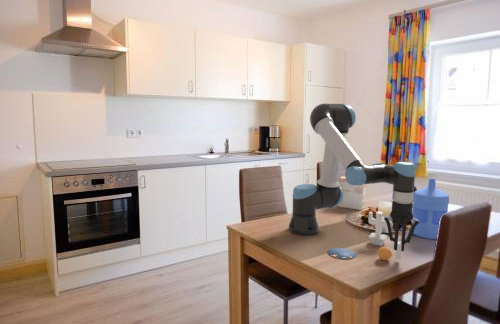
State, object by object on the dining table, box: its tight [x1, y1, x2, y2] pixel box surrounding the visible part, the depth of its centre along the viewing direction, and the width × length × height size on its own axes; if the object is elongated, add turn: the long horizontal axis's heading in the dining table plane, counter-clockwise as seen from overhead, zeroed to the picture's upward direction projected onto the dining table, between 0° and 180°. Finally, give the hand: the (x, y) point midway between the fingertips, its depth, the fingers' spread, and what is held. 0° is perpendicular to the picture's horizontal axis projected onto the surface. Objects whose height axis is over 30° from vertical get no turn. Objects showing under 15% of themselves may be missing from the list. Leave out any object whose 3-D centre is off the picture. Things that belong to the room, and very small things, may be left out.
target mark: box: [327, 247, 357, 260], centre depth 150 cm, size 12×12×1 cm
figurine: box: [368, 211, 389, 247], centre depth 161 cm, size 7×9×15 cm
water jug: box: [412, 178, 450, 240], centre depth 173 cm, size 16×16×28 cm
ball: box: [376, 246, 393, 261], centre depth 144 cm, size 6×6×6 cm
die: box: [373, 216, 394, 234], centre depth 177 cm, size 8×9×10 cm
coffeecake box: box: [338, 175, 367, 211], centre depth 223 cm, size 15×7×20 cm, turn 58°
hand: (398, 257), depth 142 cm, fingers closed
